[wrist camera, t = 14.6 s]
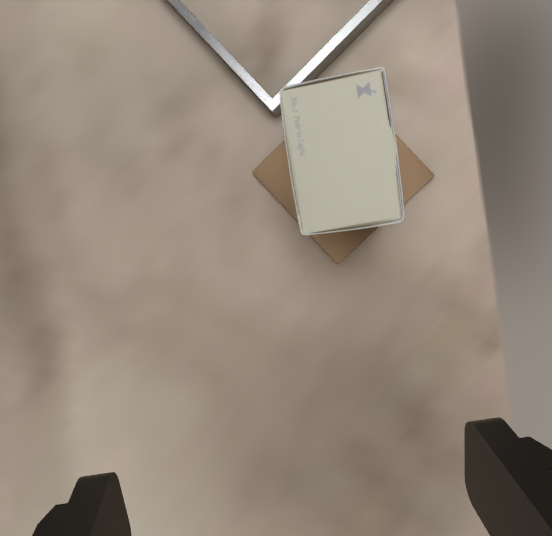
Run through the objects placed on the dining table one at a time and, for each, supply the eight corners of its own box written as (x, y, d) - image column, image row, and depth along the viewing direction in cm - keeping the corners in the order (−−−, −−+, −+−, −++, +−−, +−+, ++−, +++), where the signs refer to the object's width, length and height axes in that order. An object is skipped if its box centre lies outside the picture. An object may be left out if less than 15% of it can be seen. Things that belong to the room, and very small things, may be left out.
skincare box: (301, 131, 33) (272, 81, 21) (373, 118, 32) (386, 58, 20) (316, 231, 33) (295, 238, 21) (386, 220, 32) (407, 222, 20)
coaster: (337, 263, 34) (337, 264, 33) (253, 173, 34) (251, 172, 33) (433, 176, 32) (435, 175, 32) (345, 82, 33) (344, 80, 32)
